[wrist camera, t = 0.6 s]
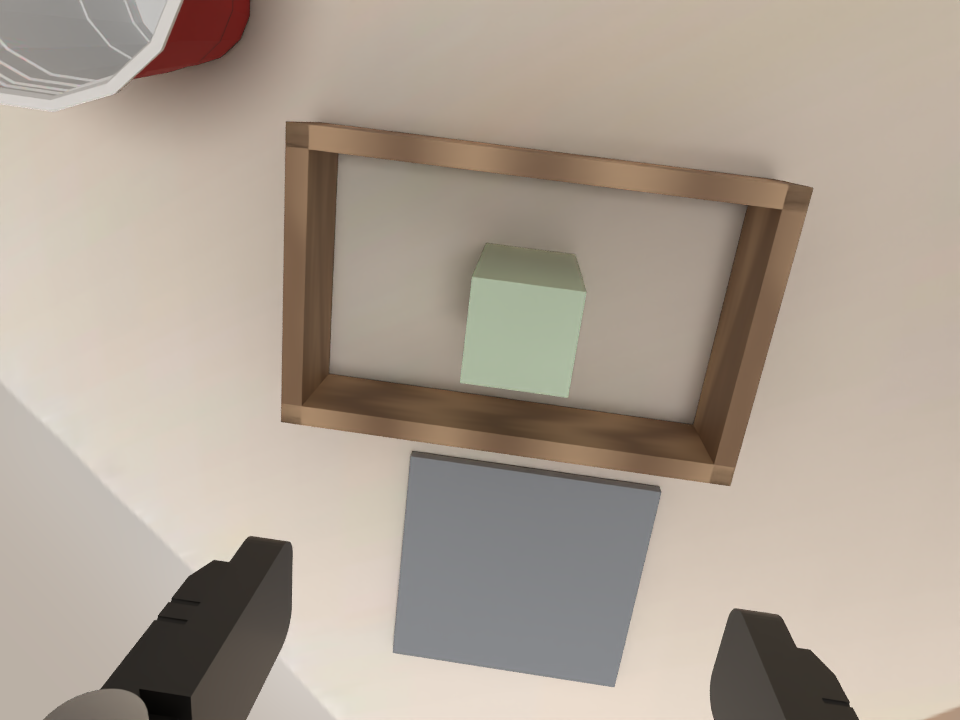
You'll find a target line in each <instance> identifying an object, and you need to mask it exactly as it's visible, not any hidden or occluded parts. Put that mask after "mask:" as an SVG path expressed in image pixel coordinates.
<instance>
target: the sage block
mask: <svg viewBox="0 0 960 720" xmlns="http://www.w3.org/2000/svg"><path fill="white" fill-rule="evenodd" d="M585 298H586V289H585V285H584V282H583V279H582V276H581V272H580V269H579V266H578V262H577V259H576V256H575V255H574V254H567V253H559V252H551V251H544V250H536V249H529V248H521V247H513V246H506V245H498V244H490V243H486V245H485V247H484V250H483V252H482V254H481V257H480V259H479V261H478V264H477V266H476V268H475V271H474V273H473V276H472V281H471V289H470V298H469V307H468V316H467V324H466V333H465V342H464V351H463V359H462V368H461V377H460V383H464V384H471V385H478V386H485V387H493V388H500V389H507V390H514V391H521V392H529V393H536V394H543V395H550V396H558V397H565V398H568V395H569V389H570V383H571V378H572V372H573V366H574V361H575V355H576V349H577V344H578V338H579V332H580V326H581V321H582V315H583V309H584V304H585Z"/></svg>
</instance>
